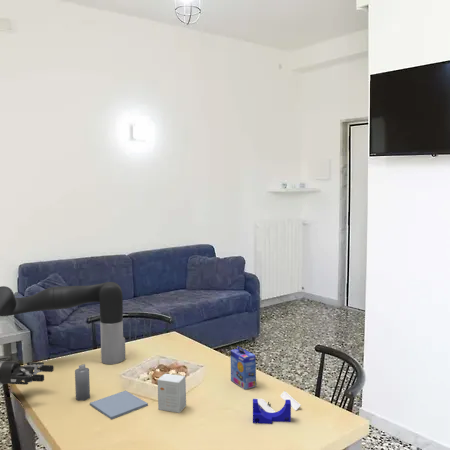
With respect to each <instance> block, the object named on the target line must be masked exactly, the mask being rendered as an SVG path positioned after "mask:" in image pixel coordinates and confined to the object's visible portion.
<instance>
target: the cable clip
mask: <svg viewBox="0 0 450 450" xmlns="http://www.w3.org/2000/svg"><path fill="white" fill-rule="evenodd" d="M258 399H259V398H255V399H253V398H252V424H261V425H262V424H267V425H270V424H271V425H272V423H273V422H274V423H275V422H278V423H280V422H281V423H284V422H286V423H291V422H292V407H291V401H290V400H284V402H285V403H284V405H283V406H282V407H281V408H280V409H279V410H277V411H275V413H269V412H266V411H265V410H264V409H263V408H262V407H261V406H260V405H259V404H258Z"/></svg>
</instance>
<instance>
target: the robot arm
mask: <svg viewBox="0 0 450 450" xmlns="http://www.w3.org/2000/svg"><path fill="white" fill-rule="evenodd" d="M122 290H123V289H122V287H121V286H120V285H119V284H118V283H117V282H114V281H107V282H102V283H96V284H89V285H69V286H67V285H66V286H64V285H63V286H54V287H53V286H52V287H48V288H44V289H43V290H41V291H38V292H37V293H35V294H32V295H29V296H25V297H24V296H23V297H16V296H15V294H14V292H13V291H14V290H12V289H11V288H10V287H8V286H4V285H3V286H0V317H8V316H9V317H10V316H15V315H20V314H27V313H33V312H42V311H55V310H57V311H58V310H66V309H72V308H74V307H77V306H81V305H84V304H89V303H99V318H100V319H99V321H100V322H99V323H100V324H99V325H100V353H101V354H100V359H101V360H100V361H101V363H102V364H105V365H115V364H120V363H121V362H123V361H124V360H126V338H125V337H124V322H123V321H124V320H123V319H124V318H123V317H124V310H123V308H124V307H123V304H124V302H123V301H124V300H123V298H124V297H123V291H122ZM54 370H55V368H54V365H52V364H45V362H44V361H38V362H35V361H32V362H31V361H30V362H29V361H28V362H26V364H24V365H21V364H20V363H19V362H18V361H10V360H9V361H7V360H0V385H2V384H5V385H8V384H9V385H24V386H25V385H29V383H32V382H40V383H41V382H44V381H45V375H44V374H38V373H42V372H43V373H52V372H54Z"/></svg>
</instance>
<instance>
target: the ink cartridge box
mask: <svg viewBox="0 0 450 450" xmlns="http://www.w3.org/2000/svg"><path fill="white" fill-rule="evenodd" d="M236 347H237V348H234V349H231V350H230V351H229V352H230V381H231V382H232V383H234V384H236V386H238V387H240V388H242V389H243V390H249V389H252V388H256V387H257V366H256V365H257V361H256V354H254V353H253V352H250V351H248V350H246V349H245V348H242V347H241V346H237V345H236Z"/></svg>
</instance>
